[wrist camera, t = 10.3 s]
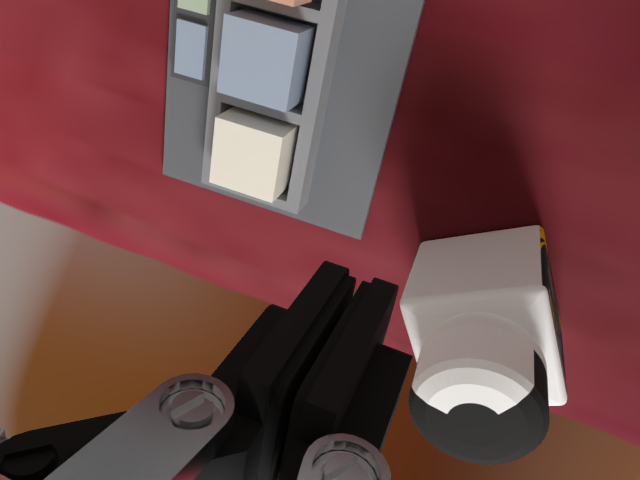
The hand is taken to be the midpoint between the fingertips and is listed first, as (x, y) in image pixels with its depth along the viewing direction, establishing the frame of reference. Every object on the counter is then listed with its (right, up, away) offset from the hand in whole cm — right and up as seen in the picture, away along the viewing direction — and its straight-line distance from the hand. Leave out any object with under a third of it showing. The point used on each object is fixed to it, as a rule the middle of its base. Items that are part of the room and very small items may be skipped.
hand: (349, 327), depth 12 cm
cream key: (-4, +7, +21) cm, 23 cm away
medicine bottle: (+10, -1, +22) cm, 24 cm away
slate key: (-3, +12, +18) cm, 22 cm away
